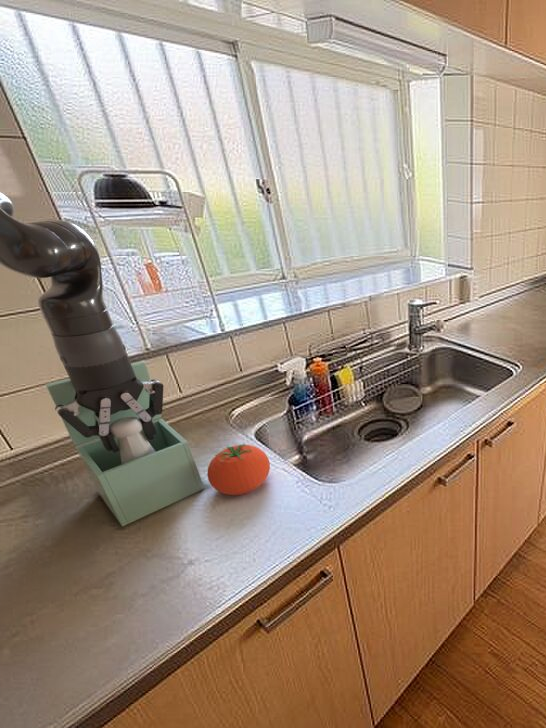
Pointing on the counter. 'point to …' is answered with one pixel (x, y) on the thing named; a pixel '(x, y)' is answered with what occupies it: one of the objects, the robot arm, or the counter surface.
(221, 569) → the counter surface
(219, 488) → the tomato
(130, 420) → the salt shaker
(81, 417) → the green box lid
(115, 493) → the mint green box
